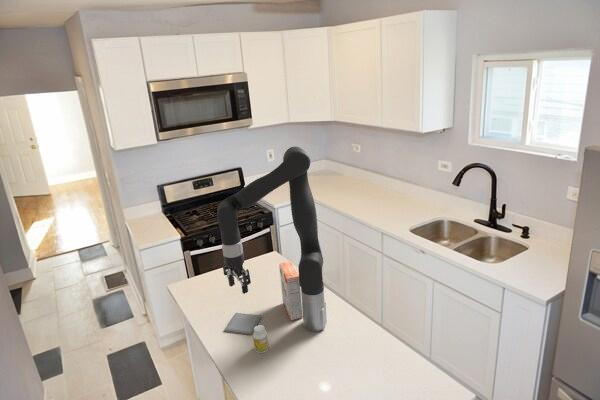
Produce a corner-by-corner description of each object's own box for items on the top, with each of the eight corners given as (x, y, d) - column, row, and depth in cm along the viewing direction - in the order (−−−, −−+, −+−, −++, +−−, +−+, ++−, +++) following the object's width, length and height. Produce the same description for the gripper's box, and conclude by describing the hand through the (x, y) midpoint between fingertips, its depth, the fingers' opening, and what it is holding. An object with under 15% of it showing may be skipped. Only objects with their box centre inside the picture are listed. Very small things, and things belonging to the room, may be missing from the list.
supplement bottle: (270, 350, 158) (268, 330, 155) (257, 355, 156) (254, 334, 153) (265, 342, 163) (263, 322, 160) (252, 346, 161) (250, 326, 158)
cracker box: (282, 303, 188) (278, 263, 180) (294, 300, 189) (291, 260, 182) (289, 321, 175) (285, 278, 168) (303, 318, 176) (300, 275, 169)
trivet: (261, 317, 179) (261, 315, 178) (251, 334, 168) (251, 333, 168) (235, 314, 182) (235, 312, 182) (224, 331, 171) (224, 329, 171)
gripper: (252, 253, 153) (257, 291, 159) (229, 243, 163) (235, 279, 168) (236, 261, 148) (242, 299, 154) (214, 250, 158) (220, 287, 163)
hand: (238, 289), depth 161 cm, fingers open, 8 cm apart
